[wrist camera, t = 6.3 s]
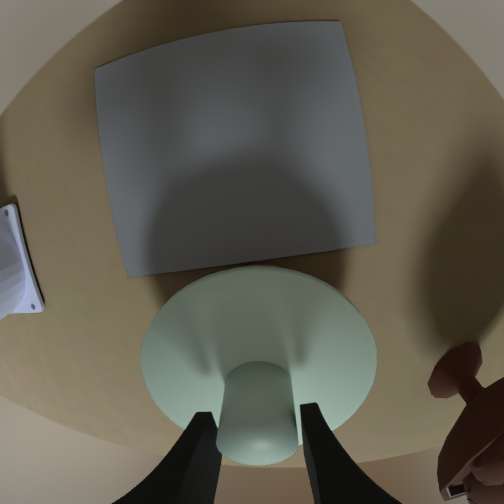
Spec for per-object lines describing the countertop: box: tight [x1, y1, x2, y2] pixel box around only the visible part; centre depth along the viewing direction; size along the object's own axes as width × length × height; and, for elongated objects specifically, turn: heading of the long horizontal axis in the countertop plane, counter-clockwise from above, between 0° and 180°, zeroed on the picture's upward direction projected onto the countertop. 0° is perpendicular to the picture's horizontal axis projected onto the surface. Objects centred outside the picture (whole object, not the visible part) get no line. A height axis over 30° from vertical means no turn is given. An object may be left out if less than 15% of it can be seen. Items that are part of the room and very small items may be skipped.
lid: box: [141, 266, 377, 465], centre depth 11 cm, size 11×11×4 cm
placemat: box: [94, 21, 376, 278], centre depth 14 cm, size 14×13×1 cm
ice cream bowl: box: [428, 342, 504, 504], centre depth 11 cm, size 11×11×15 cm
